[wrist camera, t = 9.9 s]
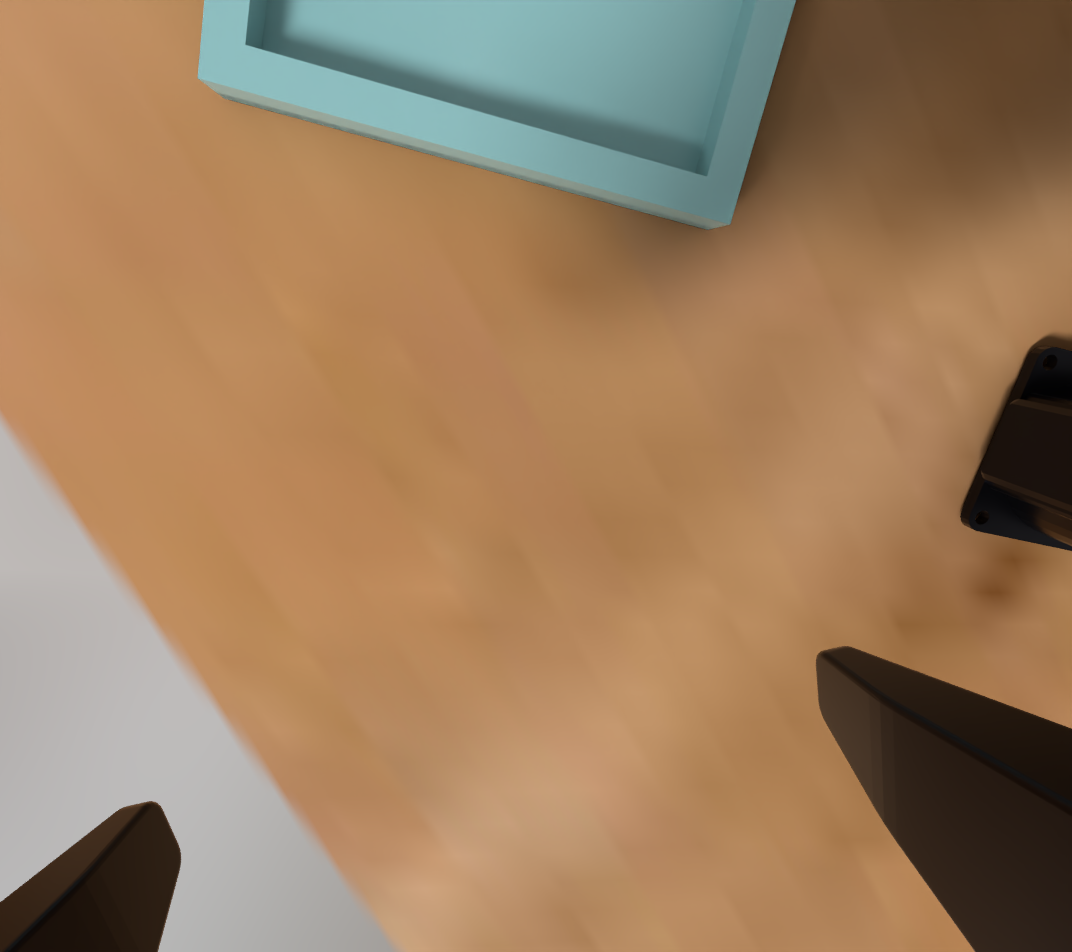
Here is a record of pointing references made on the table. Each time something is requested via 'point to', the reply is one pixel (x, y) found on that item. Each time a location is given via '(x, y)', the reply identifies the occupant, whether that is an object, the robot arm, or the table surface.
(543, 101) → the tray
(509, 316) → the table surface
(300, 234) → the table surface
